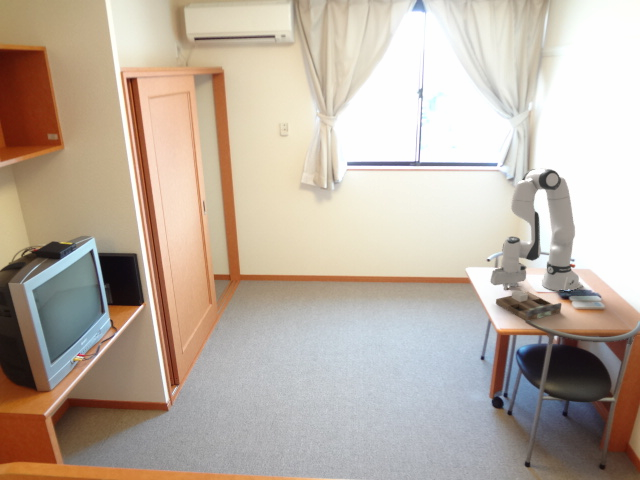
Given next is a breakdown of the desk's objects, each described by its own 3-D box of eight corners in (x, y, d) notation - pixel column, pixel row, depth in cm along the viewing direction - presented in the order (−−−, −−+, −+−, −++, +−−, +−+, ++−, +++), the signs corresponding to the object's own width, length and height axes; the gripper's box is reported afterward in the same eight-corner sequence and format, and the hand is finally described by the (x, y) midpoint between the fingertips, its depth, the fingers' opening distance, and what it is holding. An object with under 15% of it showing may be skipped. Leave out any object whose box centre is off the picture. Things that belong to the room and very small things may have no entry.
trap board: (527, 295, 262) (528, 287, 260) (560, 312, 242) (561, 303, 241) (495, 303, 254) (496, 294, 252) (527, 321, 235) (528, 312, 233)
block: (518, 295, 256) (519, 290, 255) (527, 300, 251) (527, 294, 250) (511, 297, 254) (512, 291, 253) (519, 302, 249) (520, 296, 248)
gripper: (496, 271, 250) (493, 294, 255) (529, 266, 256) (526, 289, 260) (489, 266, 256) (486, 290, 260) (521, 262, 261) (518, 285, 266)
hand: (506, 289), depth 260 cm, fingers closed
